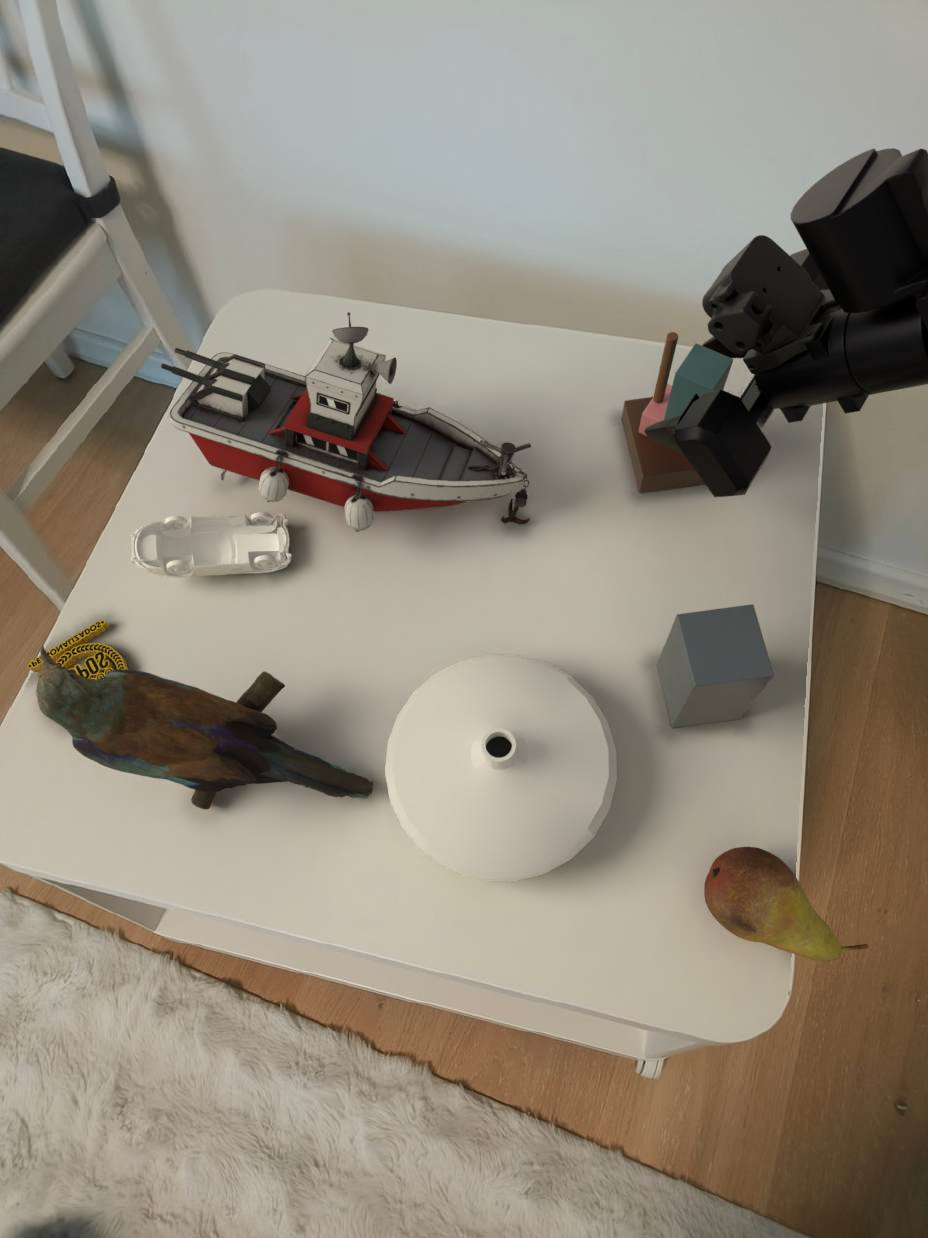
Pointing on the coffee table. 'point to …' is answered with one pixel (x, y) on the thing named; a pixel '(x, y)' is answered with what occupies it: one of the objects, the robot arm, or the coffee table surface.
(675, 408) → the peg stacking toy
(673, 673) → the grey rectangular block
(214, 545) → the toy car
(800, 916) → the fruit
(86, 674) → the logo
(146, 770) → the bird figurine
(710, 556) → the coffee table surface
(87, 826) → the coffee table surface
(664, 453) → the walnut block
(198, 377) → the toy boat
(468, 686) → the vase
